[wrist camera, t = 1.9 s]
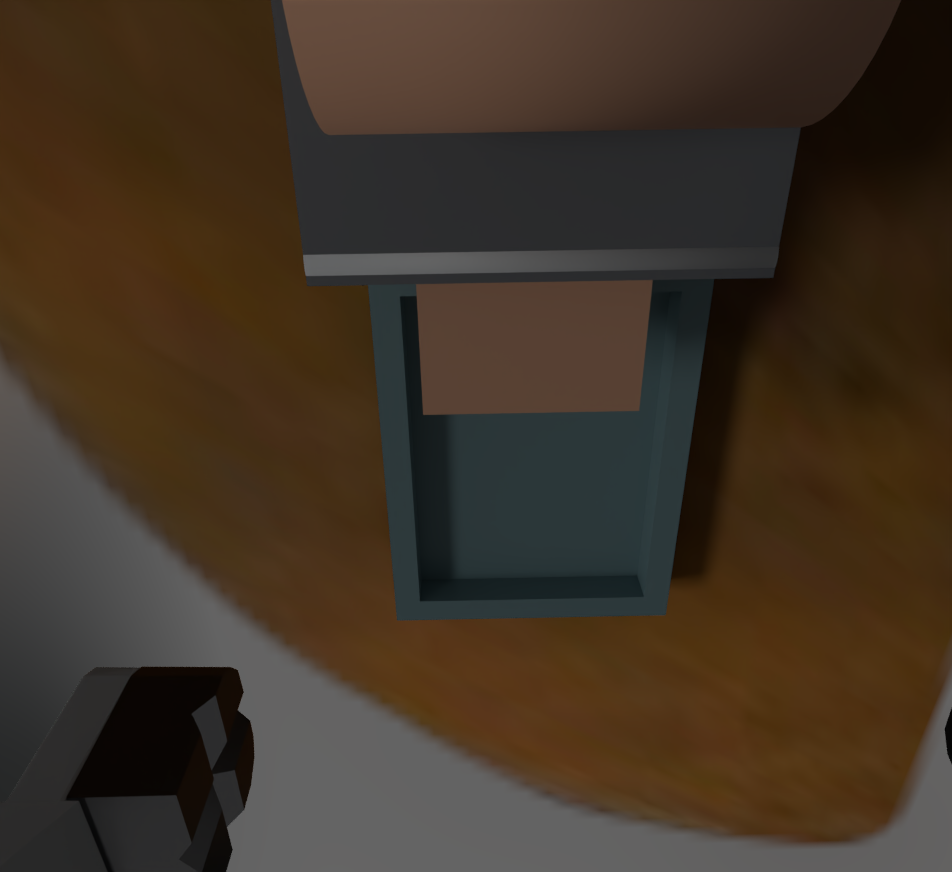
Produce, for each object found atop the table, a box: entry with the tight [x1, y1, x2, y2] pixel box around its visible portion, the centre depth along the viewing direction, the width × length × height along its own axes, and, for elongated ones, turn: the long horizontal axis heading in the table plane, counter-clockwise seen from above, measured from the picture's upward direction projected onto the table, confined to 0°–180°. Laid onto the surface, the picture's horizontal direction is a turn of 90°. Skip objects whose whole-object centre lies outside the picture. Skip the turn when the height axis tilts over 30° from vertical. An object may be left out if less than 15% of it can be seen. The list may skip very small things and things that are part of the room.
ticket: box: [416, 280, 653, 415], centre depth 16 cm, size 9×5×2 cm, turn 1°
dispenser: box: [271, 0, 901, 286], centre depth 13 cm, size 8×9×11 cm
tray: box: [368, 279, 714, 620], centre depth 22 cm, size 12×9×2 cm
